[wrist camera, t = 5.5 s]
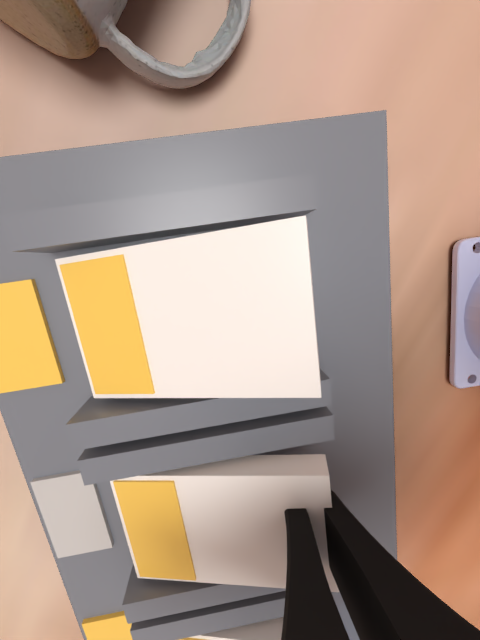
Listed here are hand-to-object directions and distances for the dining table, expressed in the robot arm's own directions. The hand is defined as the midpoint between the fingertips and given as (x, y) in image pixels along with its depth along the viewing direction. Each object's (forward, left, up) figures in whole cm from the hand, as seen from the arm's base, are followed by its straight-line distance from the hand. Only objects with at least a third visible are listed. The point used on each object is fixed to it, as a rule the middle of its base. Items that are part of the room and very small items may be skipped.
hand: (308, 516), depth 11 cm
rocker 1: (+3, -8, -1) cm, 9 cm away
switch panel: (+3, 0, -5) cm, 6 cm away
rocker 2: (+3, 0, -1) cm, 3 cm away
